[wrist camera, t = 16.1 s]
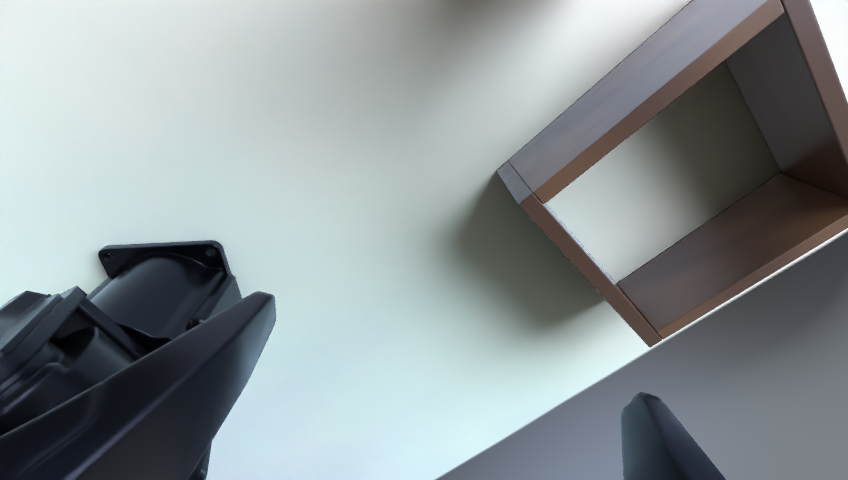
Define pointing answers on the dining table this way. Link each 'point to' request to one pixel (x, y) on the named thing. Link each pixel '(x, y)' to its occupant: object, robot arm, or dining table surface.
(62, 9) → the dining table surface
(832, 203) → the crate
